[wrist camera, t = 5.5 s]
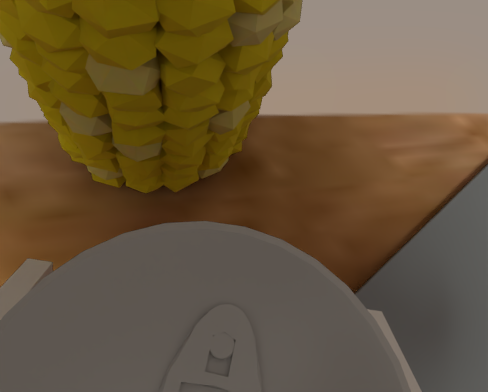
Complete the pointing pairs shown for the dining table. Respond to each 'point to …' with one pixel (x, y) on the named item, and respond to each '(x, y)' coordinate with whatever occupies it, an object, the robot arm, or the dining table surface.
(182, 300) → the canned food
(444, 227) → the rubber mat
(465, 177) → the dining table surface
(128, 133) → the food
